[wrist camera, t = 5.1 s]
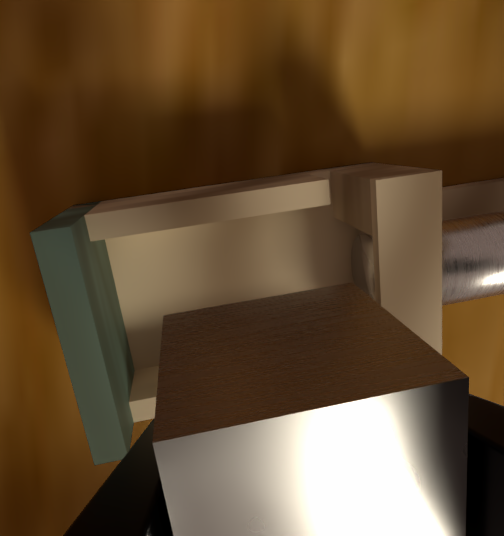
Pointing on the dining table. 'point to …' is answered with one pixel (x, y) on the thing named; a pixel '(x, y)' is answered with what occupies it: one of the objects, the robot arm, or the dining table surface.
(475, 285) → the shaft
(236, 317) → the block
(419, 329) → the bearing bed
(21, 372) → the dining table surface
